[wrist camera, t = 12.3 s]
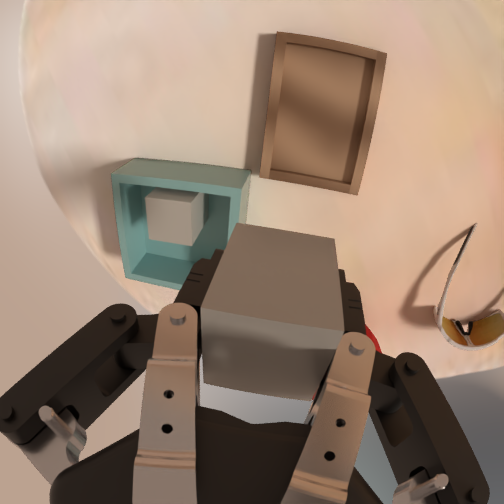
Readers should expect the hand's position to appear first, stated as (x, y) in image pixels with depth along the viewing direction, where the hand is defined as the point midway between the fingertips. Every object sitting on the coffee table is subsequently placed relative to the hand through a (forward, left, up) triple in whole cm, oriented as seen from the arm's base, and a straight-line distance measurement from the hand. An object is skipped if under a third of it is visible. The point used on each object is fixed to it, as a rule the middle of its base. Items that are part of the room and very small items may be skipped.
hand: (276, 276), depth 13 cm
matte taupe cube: (+4, -9, -15) cm, 18 cm away
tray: (-5, +2, -16) cm, 17 cm away
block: (0, 0, 0) cm, 0 cm away
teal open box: (+7, -9, -16) cm, 20 cm away
